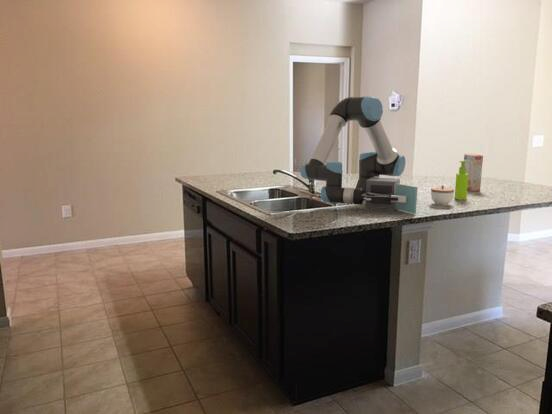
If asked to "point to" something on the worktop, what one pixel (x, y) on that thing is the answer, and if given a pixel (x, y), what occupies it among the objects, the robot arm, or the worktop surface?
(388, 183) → the small grey cabinet
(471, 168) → the cracker box
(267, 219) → the worktop surface
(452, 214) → the worktop surface
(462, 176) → the soap dispenser
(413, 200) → the side door
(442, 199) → the lidded jar
